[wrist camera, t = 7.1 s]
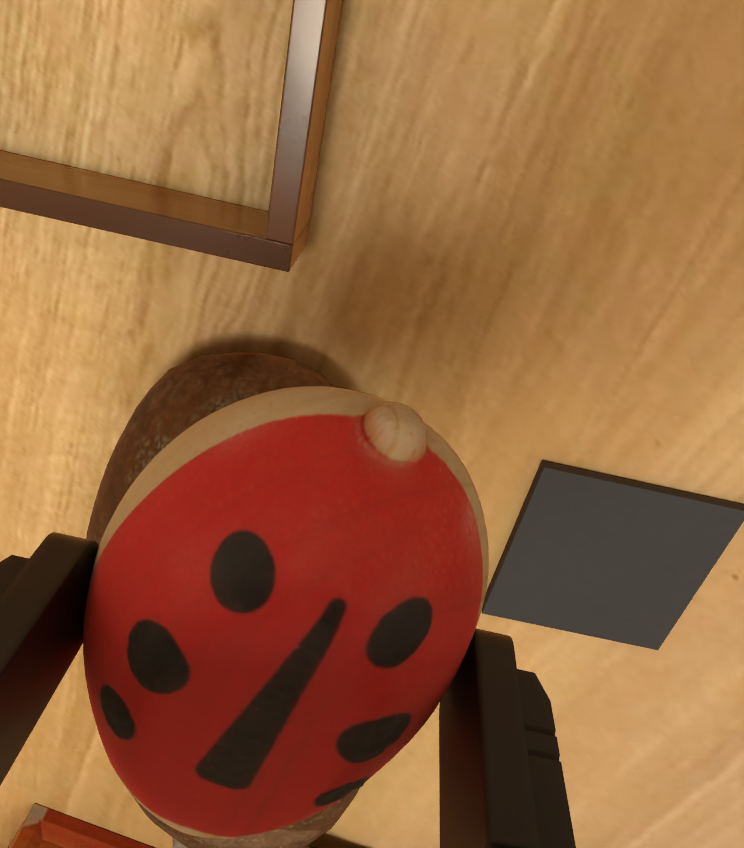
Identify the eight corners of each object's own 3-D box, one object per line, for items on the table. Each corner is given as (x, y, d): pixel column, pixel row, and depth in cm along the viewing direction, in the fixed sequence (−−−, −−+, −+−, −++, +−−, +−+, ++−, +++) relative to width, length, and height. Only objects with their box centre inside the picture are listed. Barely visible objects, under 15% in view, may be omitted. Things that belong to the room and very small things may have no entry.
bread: (150, 778, 47) (99, 911, 40) (85, 314, 28) (-34, 409, 21) (361, 807, 47) (348, 946, 40) (437, 359, 28) (438, 470, 21)
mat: (542, 460, 30) (543, 467, 30) (744, 504, 31) (749, 512, 30) (480, 605, 36) (481, 613, 35) (654, 641, 36) (658, 650, 35)
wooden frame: (-133, -305, 19) (-241, -370, 16) (369, -178, 19) (358, -218, 16) (-66, 161, 25) (-132, 177, 22) (305, 245, 26) (289, 272, 23)
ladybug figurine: (81, 665, 15) (-13, 832, 11) (182, 276, 10) (65, 387, 7) (356, 754, 15) (336, 930, 12) (580, 440, 10) (640, 605, 7)
